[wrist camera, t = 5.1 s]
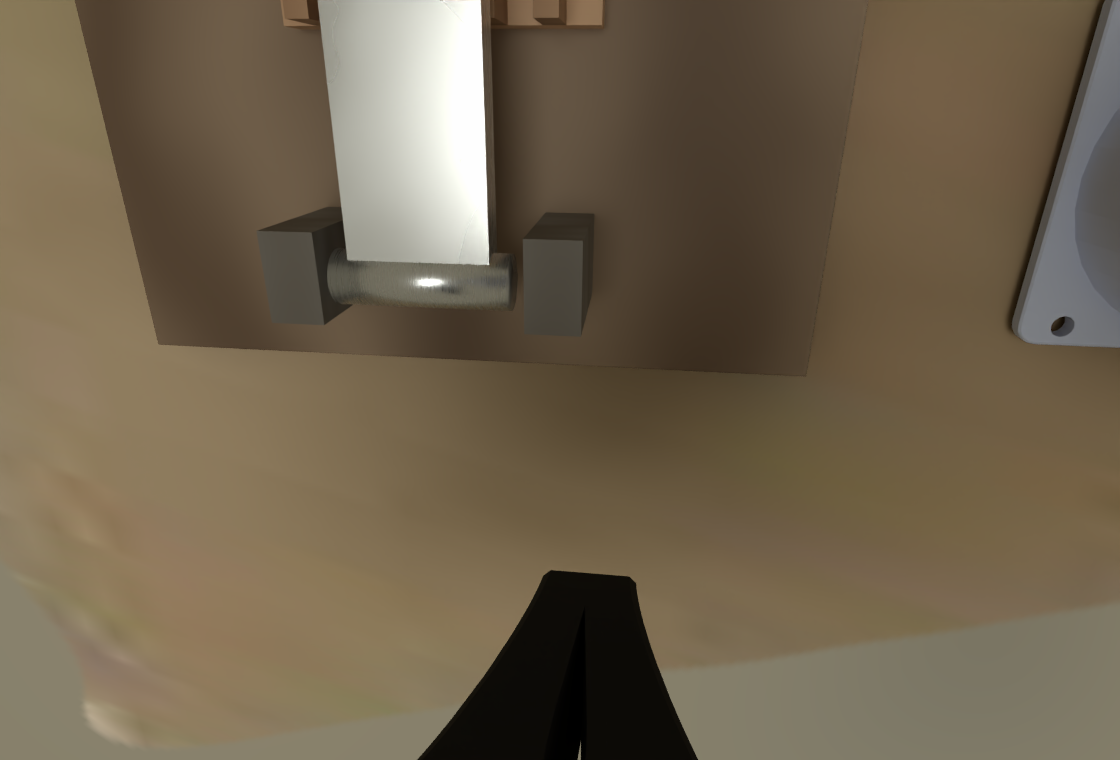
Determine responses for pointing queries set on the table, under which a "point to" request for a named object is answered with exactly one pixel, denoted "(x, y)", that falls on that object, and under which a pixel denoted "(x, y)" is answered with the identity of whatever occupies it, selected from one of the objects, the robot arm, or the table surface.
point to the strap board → (499, 178)
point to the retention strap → (415, 154)
